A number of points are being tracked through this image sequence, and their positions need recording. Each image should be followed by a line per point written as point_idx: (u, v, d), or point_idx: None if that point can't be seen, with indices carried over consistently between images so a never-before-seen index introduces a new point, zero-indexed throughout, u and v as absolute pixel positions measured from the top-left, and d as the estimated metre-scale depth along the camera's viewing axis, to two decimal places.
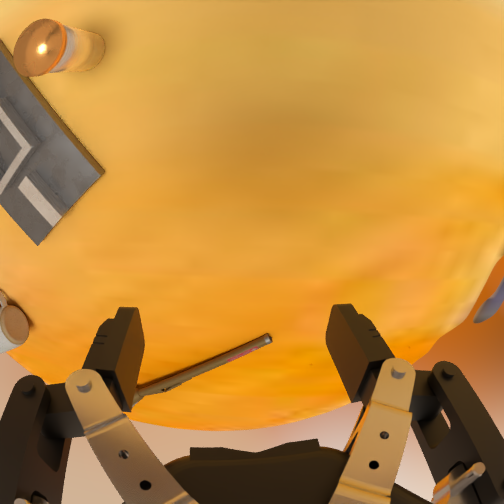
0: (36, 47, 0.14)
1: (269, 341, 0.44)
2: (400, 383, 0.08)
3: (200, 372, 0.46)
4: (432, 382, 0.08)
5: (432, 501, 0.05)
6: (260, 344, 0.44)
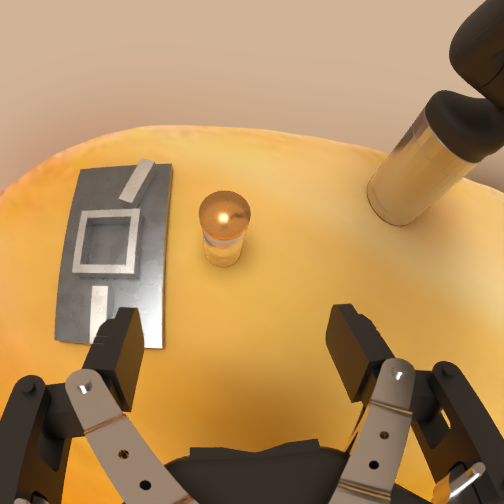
0: (225, 213, 0.28)
1: None
2: (400, 383, 0.08)
3: None
4: (432, 382, 0.08)
5: (432, 501, 0.05)
6: None
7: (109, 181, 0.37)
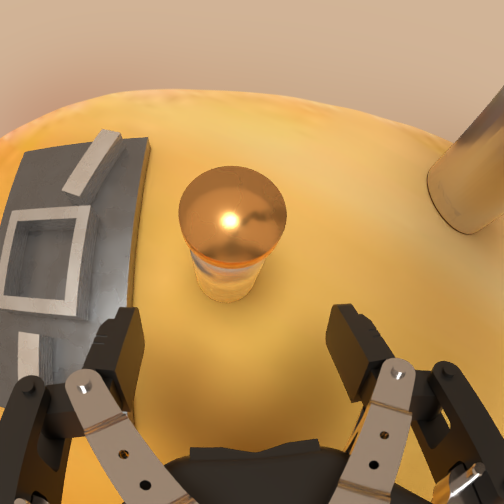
0: (234, 210, 0.13)
1: None
2: (400, 383, 0.08)
3: None
4: (432, 382, 0.08)
5: (432, 501, 0.05)
6: None
7: (57, 166, 0.23)
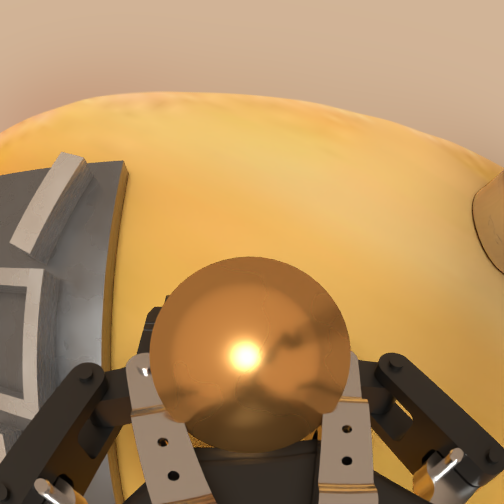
0: (256, 358, 0.07)
1: None
2: None
3: None
4: (381, 377, 0.08)
5: (414, 490, 0.06)
6: None
7: (12, 201, 0.16)
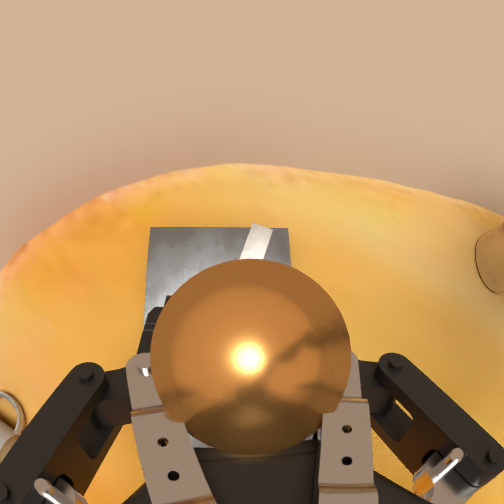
0: (256, 360, 0.07)
1: None
2: None
3: None
4: (381, 378, 0.08)
5: (414, 490, 0.06)
6: None
7: (201, 251, 0.29)
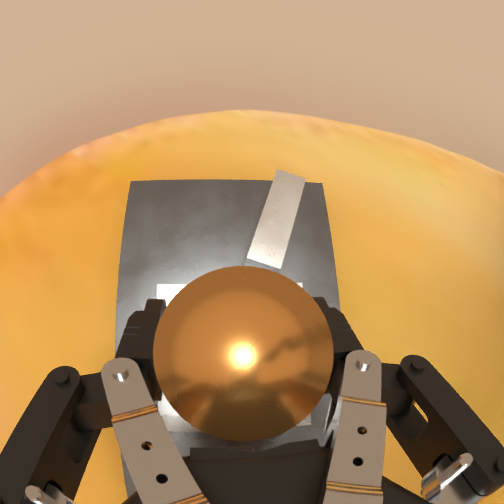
0: (247, 355, 0.07)
1: None
2: (363, 375, 0.08)
3: None
4: (402, 378, 0.08)
5: (422, 494, 0.06)
6: None
7: (202, 210, 0.20)
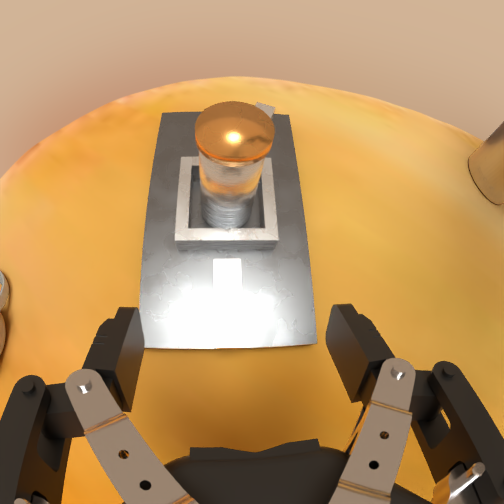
0: (235, 126, 0.17)
1: None
2: (400, 383, 0.08)
3: None
4: (432, 382, 0.08)
5: (432, 501, 0.05)
6: None
7: None
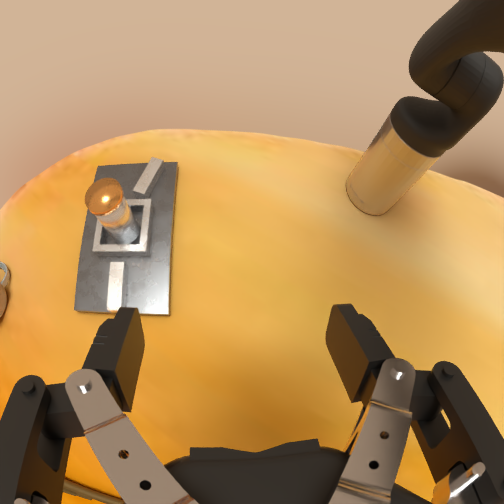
0: (102, 194, 0.32)
1: None
2: (400, 383, 0.08)
3: (108, 501, 0.27)
4: (432, 382, 0.08)
5: (432, 501, 0.05)
6: None
7: (123, 176, 0.44)
